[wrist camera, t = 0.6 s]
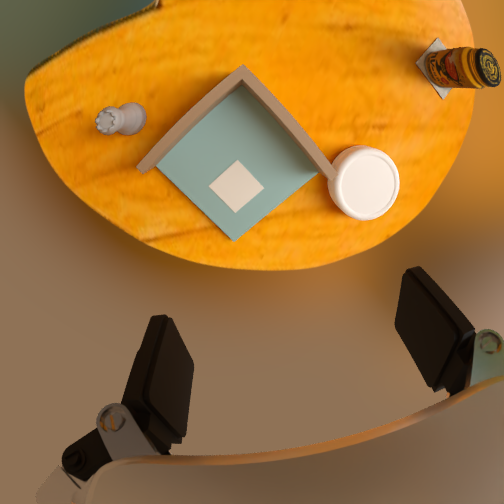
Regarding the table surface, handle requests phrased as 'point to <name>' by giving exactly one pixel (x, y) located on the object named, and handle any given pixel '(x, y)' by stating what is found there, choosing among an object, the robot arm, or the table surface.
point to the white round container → (364, 182)
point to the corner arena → (238, 154)
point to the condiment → (459, 68)
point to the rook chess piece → (121, 119)
